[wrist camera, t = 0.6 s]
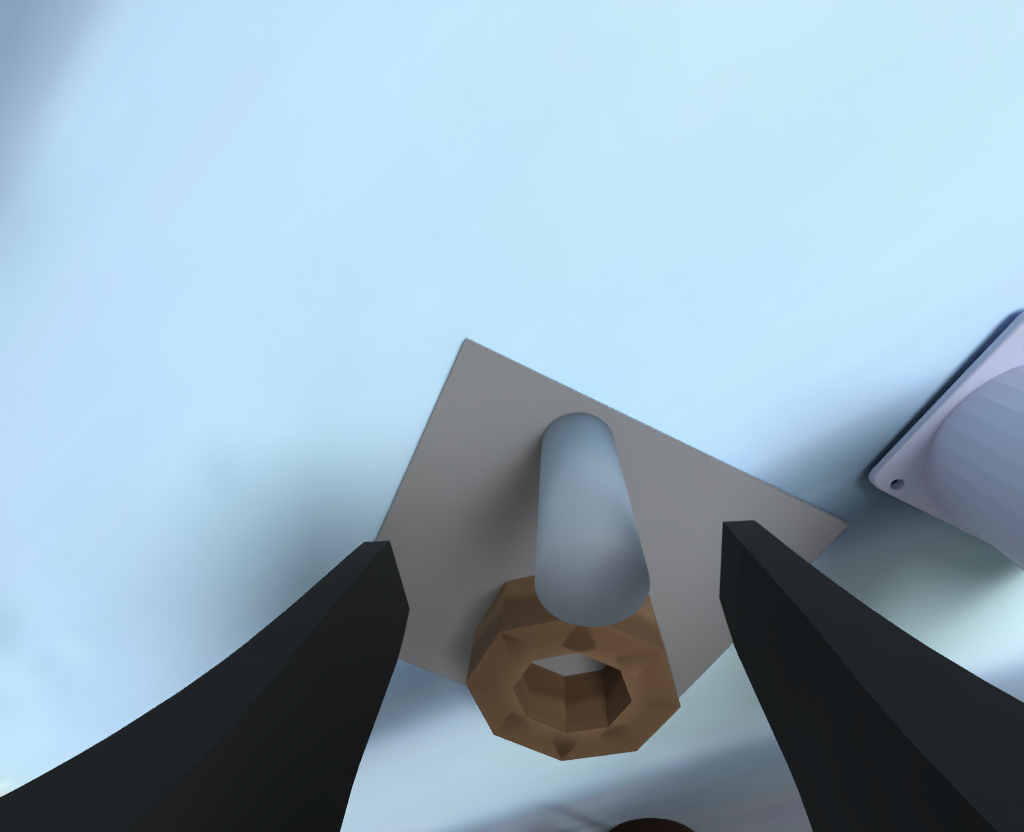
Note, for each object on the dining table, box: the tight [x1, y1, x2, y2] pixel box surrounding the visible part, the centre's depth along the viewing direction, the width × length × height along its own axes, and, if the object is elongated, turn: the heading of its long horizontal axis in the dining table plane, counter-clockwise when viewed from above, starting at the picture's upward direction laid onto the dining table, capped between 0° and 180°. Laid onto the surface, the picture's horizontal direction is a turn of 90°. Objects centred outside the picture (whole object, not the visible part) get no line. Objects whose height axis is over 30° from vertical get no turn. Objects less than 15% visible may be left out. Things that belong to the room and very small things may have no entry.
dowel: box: [535, 412, 650, 627], centre depth 16 cm, size 3×3×8 cm
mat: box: [376, 338, 848, 698], centre depth 23 cm, size 18×18×1 cm
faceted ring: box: [466, 575, 681, 761], centre depth 23 cm, size 9×9×3 cm
